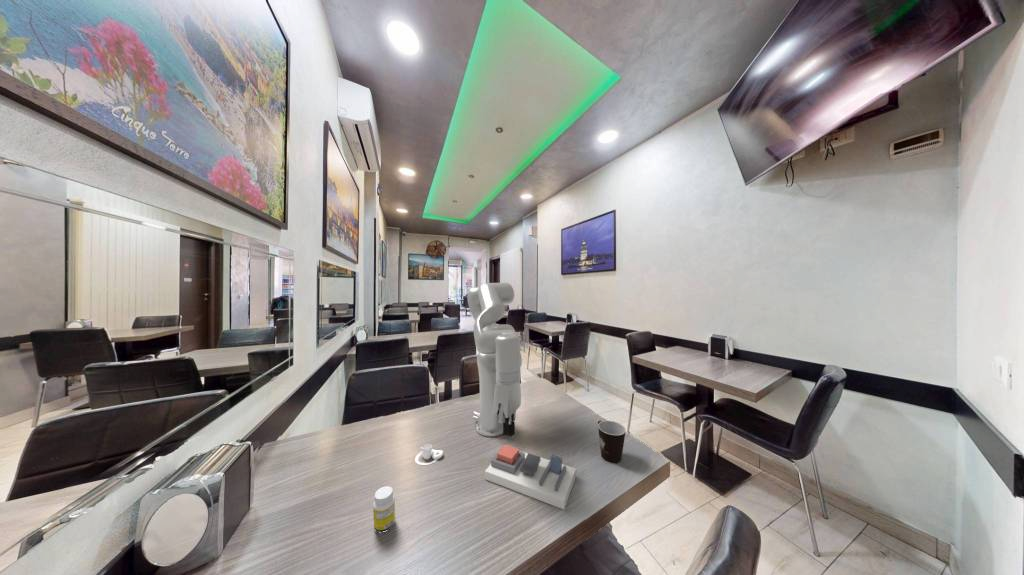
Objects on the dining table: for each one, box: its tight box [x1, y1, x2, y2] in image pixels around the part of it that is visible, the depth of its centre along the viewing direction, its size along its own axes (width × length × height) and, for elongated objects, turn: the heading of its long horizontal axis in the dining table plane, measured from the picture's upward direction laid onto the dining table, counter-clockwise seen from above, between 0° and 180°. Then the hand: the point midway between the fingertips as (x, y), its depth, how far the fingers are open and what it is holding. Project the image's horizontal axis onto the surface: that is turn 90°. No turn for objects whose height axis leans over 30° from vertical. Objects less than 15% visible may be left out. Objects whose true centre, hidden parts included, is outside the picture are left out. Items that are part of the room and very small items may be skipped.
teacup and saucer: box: [414, 443, 444, 466], centre depth 92 cm, size 9×8×4 cm
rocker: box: [520, 452, 542, 476], centre depth 82 cm, size 4×6×1 cm, turn 154°
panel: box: [484, 446, 577, 510], centre depth 83 cm, size 24×13×4 cm, turn 64°
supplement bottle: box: [372, 485, 396, 533], centre depth 67 cm, size 5×5×8 cm
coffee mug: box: [597, 420, 627, 464], centre depth 93 cm, size 12×9×10 cm
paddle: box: [549, 454, 563, 474], centre depth 81 cm, size 3×2×5 cm, turn 64°
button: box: [496, 444, 520, 465], centre depth 86 cm, size 5×5×2 cm
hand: (508, 434), depth 85 cm, fingers closed
